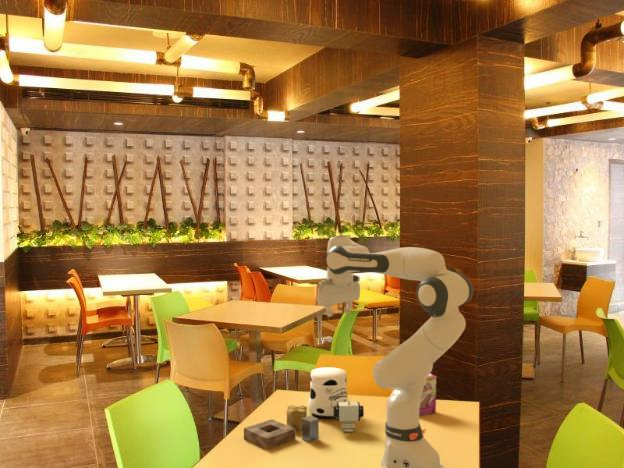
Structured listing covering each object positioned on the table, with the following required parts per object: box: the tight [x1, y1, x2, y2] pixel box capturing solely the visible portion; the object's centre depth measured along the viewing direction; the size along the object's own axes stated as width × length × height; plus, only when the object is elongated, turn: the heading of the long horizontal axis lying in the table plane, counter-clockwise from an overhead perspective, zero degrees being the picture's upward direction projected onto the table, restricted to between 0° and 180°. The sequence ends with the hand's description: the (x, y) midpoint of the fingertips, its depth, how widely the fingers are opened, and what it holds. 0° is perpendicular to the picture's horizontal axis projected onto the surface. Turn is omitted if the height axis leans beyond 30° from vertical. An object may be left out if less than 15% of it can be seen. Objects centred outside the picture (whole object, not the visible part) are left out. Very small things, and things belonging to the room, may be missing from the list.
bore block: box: [243, 419, 296, 450], centre depth 230 cm, size 14×14×4 cm
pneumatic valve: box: [333, 400, 365, 433], centre depth 238 cm, size 6×12×12 cm, turn 91°
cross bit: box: [286, 404, 308, 433], centre depth 241 cm, size 8×8×8 cm
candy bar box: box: [419, 373, 438, 417], centre depth 257 cm, size 11×5×16 cm, turn 115°
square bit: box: [301, 415, 320, 443], centre depth 229 cm, size 4×4×8 cm
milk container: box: [307, 366, 350, 418], centre depth 257 cm, size 17×17×18 cm
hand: (338, 314), depth 227 cm, fingers open, 8 cm apart
